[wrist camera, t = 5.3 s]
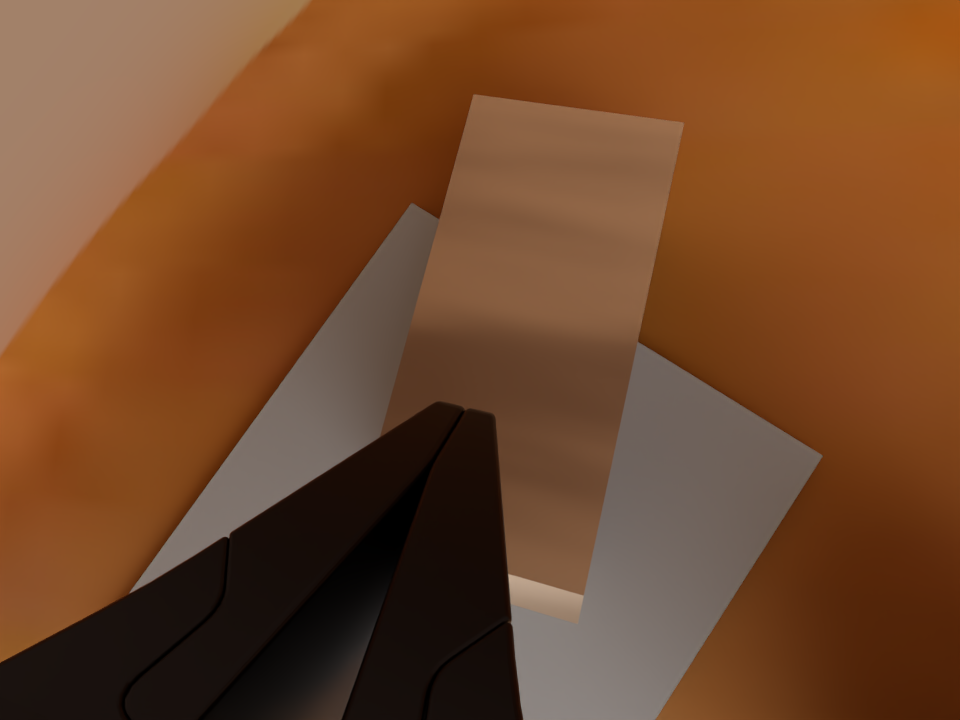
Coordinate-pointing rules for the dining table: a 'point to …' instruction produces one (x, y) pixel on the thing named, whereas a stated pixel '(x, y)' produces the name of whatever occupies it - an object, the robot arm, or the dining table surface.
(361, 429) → the rubber mat
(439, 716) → the robot arm
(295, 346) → the dining table surface
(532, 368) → the walnut block
